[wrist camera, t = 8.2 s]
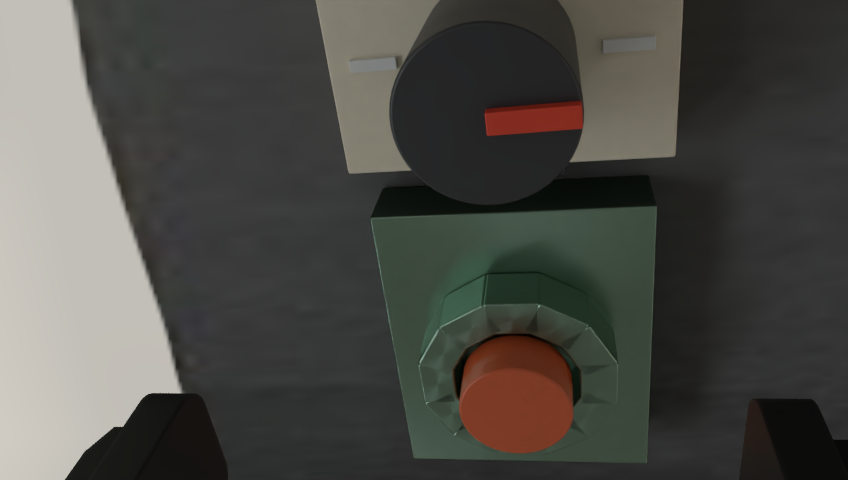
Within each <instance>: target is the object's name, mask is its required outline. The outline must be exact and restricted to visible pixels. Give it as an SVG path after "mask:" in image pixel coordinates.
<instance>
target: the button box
mask: <svg viewBox="0 0 848 480" xmlns="http://www.w3.org/2000/svg"><path fill="white" fill-rule="evenodd" d="M370 220H371V225H372V231H373V236H374V242H375V247H376V253H377V258H378V264H379V270H380V275H381V281H382V286H383V292H384V297H385V303H386V308H387V314H388V319H389V325H390V330H391V336H392V342H393V347H394V353H395V358H396V364H397V369H398V375H399V380H400V386H401V391H402V397H403V402H404V408H405V413H406V419H407V425H408V430H409V436H410V441H411V447H412V452H413V457H414V458H418V459H466V460H514V461H562V462H610V463H647V450H648V425H649V399H650V374H651V348H652V322H653V297H654V271H655V245H656V220H657V205H656V202H655V198H654V194H653V191H652V187H651V183H650V179H649V176H631V177H610V178H589V179H568V180H553V181H552V182H551V183H550V184H548V185H547V186H545V187H544V188H542V189H541V190H540V191H538V192H536V193H534V194H532V195H530V196H528V197H525V198H523V199H520V200H517V201H513V202H509V203H504V204H496V205H479V204H471V203H466V202H462V201H458V200H455V199H452V198H450V197H447V196H445V195H443V194H441V193H439V192H437V191H435V190H434V189H432V188H431V187H429V186H422V187H401V188H384V189H382V192H381V194H380V196H379V199H378V201H377V204H376V206H375V208H374V211H373V213H372V216H371V218H370ZM507 335H522V336H529V337H533V338H536V339H539V340H542V341H544V342H546V343H548V344H549V345H551V346H552V347H554V348H555V349H556V350H558V351H559V352H560V353H561V355H562V356H563V357H564V358H565V360H566V361H567V363H568V365H569V367H570V370H571V373H572V388H573V410H574V414H573V421H572V424H571V426H570V429H569V430H568V432H567V433H566V435H565V436H564V437H563V438H562V439H561V440H560V441H558V442H557V443H556V444H554V445H552V446H550V447H548V448H546V449H543V450H540V451H537V452H532V453H509V452H503V451H499V450H496V449H493V448H491V447H489V446H486V445H485V444H483V443H481V442H480V441H478V440H477V439H476V438H474V437H473V436H472V435H471V434H470V433H469V432H468V430H467V429H466V428H465V426H464V424H463V422H462V420H461V417H460V413H459V401H460V394H461V387H462V380H463V373H464V367H465V364H466V361H467V359H468V358H469V356H470V355H471V353H472V352H473V351H474V350H475V349H476V348H477V347H479V346H480V345H481V344H483V343H485V342H487V341H489V340H491V339H494V338H497V337H501V336H507Z"/></svg>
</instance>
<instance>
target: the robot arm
mask: <svg viewBox="0 0 848 480" xmlns="http://www.w3.org/2000/svg"><path fill="white" fill-rule="evenodd" d="M65 480H228V471H227V464H226V461H225V458H224V455H223V452H222V449H221V447H220V444H219V441H218V438H217V435H216V433H215V430H214V427H213V424H212V422H211V419H210V416H209V413H208V411H207V408H206V405H205V403H204V400H203V399H202V397H201V396H199V395H198V394H173V393H172V394H169V393H168V394H167V393H165V394H164V393H152V394H148V395H146V396H145V397H144V398H143V399H142V400H141V401H140V403H139V404H138V406H137V407H136V409H135V410H134V412H133V413H132V415H131V416H130V418H129V419H128V421H127V422H126V424H125V425H124V426H123V427H114V428H113V429H111V430H110V431H109V432H108V433H107V434H105V435H104V436H103V437H102V438H101V439H99V440H98V441H97V442H96V443H95V444H93V445H92V446H91V447H90V448H89V449H87V450H86V451H85V452H84V453H83V455H82V456H81V458H80V459H79V461H78V462H77V463H76V465H75V466H74V468H73V469H72V471H71V472H70V473H69V475H68V476H67V478H66V479H65ZM739 480H848V440H833V439H832V436H831V434H830V432H829V430H828V427H827V425H826V423H825V421H824V418H823V416H822V414H821V412H820V409H819V407H818V405H817V404H816V403H815V401H813V400H812V399H752V400H751V401H750V403H749V407H748V414H747V422H746V430H745V437H744V445H743V453H742V461H741V469H740V478H739Z"/></svg>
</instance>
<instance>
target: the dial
mask: <svg viewBox="0 0 848 480" xmlns="http://www.w3.org/2000/svg"><path fill="white" fill-rule="evenodd" d="M389 118H390V127H391V131H392V135H393V139H394V141H395V144H396V146H397V149H398V151H399V153H400V154H401V156H402V158H403V160H404V161H405V162H406V164H407V165H408V167H409V168H410V169H411V170H412V171H413V173H414V174H415V175H416V176H417V177H418V178H419V179H421V180H422V181H423V182H424V183H425V184H426V185H428V186H429V187H431V188H432V189H434V190H435V191H437V192H439V193H441V194H443V195H445V196H447V197H450V198H452V199H455V200H458V201H462V202H466V203H471V204H479V205H496V204H504V203H509V202H513V201H517V200H520V199H523V198H525V197H528V196H530V195H532V194H534V193H536V192H538V191H540V190H541V189H542V188H544V187H545V186H547V185H548V184H550V183H551V182H552V181H553V180H554V179H555V178H556V177H558V176H559V174H560V173H561V172H562V171H563V170H564V169H565V168H566V166H567V165H568V163H569V162H570V160H571V159H572V157H573V155H574V153H575V151H576V149H577V147H578V144H579V141H580V138H581V135H582V130H583V124H584V104H583V95H582V87H581V79H580V71H579V62H578V54H577V46H576V38H575V33H574V29H573V26H572V24H571V21H570V19H569V17H568V15H567V13H566V11H565V10H564V8H563V7H562V5H561V4H560V3H559V2H558V0H440V1H439V2H438V3H437V4H436V5H435V7H434V8H433V10H432V11H431V13H430V14H429V16H428V18H427V20H426V22H425V24H424V25H423V27H422V29H421V31H420V33H419V35H418V37H417V38H416V40H415V42H414V44H413V46H412V48H411V50H410V51H409V53H408V55H407V57H406V59H405V61H404V63H403V64H402V66H401V68H400V70H399V72H398V74H397V77H396V79H395V81H394V85H393V88H392V91H391V97H390V103H389Z"/></svg>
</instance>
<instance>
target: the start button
mask: <svg viewBox="0 0 848 480" xmlns="http://www.w3.org/2000/svg"><path fill="white" fill-rule="evenodd" d="M459 413H460V417H461V420H462V422H463V424H464V426H465V428H466V429H467V430H468V432H469V433H470V434H471V435H472V436H473V437H474V438H476V439H477V440H478V441H480V442H481V443H483V444H485V445H486V446H489V447H491V448H493V449H496V450H499V451H503V452H509V453H532V452H537V451H540V450H543V449H546V448H548V447H550V446H552V445H554V444H556V443H557V442H558V441H560V440H561V439H562V438H563V437H564V436H565V435H566V433H567V432H568V430H569V429H570V426H571V424H572V421H573V414H574V410H573V388H572V373H571V370H570V367H569V365H568V363H567V361H566V360H565V358H564V357H563V356H562V355H561V353H560V352H559V351H558V350H556V349H555V348H554V347H552V346H551V345H549V344H548V343H546V342H544V341H542V340H539V339H536V338H533V337H529V336H522V335H507V336H501V337H497V338H494V339H491V340H489V341H487V342H485V343H483V344H481V345H480V346H479V347H477V348H476V349H475V350H474V351H473V352H472V353H471V355H470V356H469V358H468V359H467V361H466V364H465V367H464V373H463V380H462V387H461V394H460V401H459Z"/></svg>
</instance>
